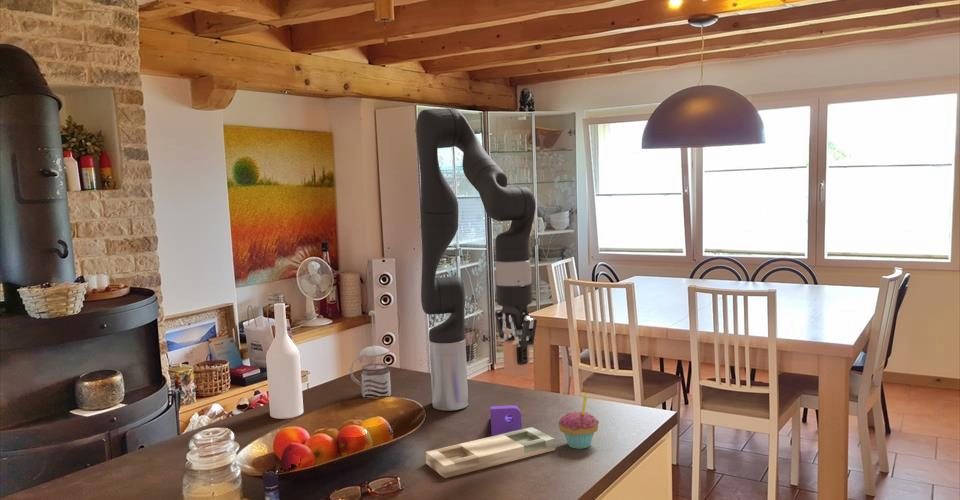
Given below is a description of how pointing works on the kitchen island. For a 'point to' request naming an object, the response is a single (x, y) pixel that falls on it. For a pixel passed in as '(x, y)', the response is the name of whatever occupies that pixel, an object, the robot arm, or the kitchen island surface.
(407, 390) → the kitchen island surface
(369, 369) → the french press
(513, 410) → the bracket
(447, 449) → the rail
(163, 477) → the kitchen island surface
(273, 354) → the bottle
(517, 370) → the salmon orange rectangular block
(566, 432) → the cupcake
